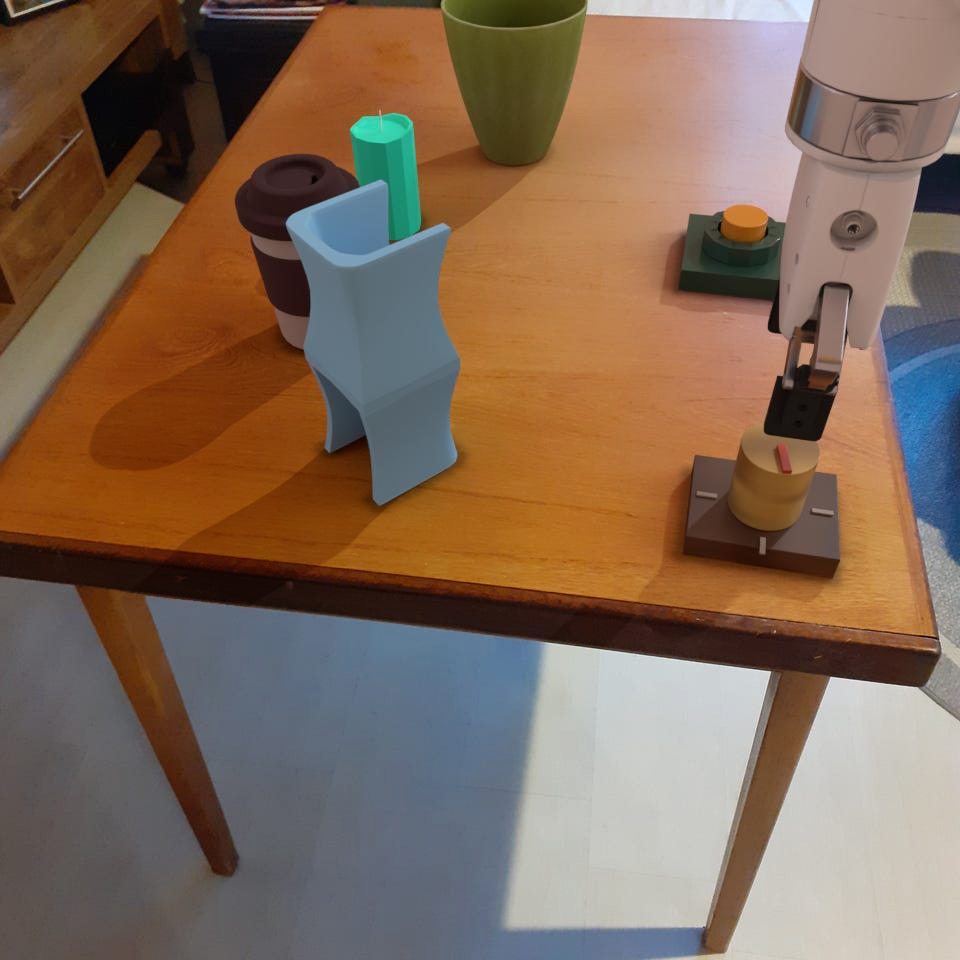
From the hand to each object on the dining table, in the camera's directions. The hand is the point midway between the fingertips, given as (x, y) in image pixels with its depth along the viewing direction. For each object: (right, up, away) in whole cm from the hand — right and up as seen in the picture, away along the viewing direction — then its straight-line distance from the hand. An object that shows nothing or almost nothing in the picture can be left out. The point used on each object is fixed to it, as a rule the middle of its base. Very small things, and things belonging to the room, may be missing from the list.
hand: (791, 380), depth 56 cm
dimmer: (+1, -9, +9) cm, 13 cm away
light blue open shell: (-26, -4, +15) cm, 30 cm away
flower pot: (-15, +31, +49) cm, 60 cm away
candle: (-28, +20, +38) cm, 52 cm away
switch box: (+5, +14, +31) cm, 35 cm away
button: (+5, +17, +29) cm, 34 cm away
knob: (+1, -8, +8) cm, 11 cm away
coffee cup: (-33, +7, +26) cm, 43 cm away
